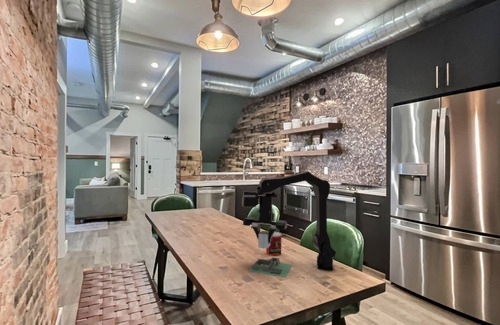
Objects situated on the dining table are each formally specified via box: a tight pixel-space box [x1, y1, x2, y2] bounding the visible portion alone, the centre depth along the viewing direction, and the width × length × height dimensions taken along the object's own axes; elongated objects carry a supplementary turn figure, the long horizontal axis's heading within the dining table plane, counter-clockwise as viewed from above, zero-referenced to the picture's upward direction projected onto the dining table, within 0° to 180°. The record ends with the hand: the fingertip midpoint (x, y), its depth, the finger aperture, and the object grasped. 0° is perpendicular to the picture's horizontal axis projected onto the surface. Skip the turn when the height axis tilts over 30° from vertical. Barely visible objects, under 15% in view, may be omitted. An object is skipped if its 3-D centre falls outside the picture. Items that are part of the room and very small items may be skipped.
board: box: [248, 256, 293, 278], centre depth 123 cm, size 16×15×3 cm
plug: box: [257, 230, 270, 250], centre depth 122 cm, size 4×6×6 cm
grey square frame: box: [252, 258, 273, 272], centre depth 123 cm, size 7×8×2 cm
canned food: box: [265, 231, 282, 257], centre depth 142 cm, size 8×8×11 cm
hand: (264, 242), depth 123 cm, fingers closed on plug, 4 cm apart
